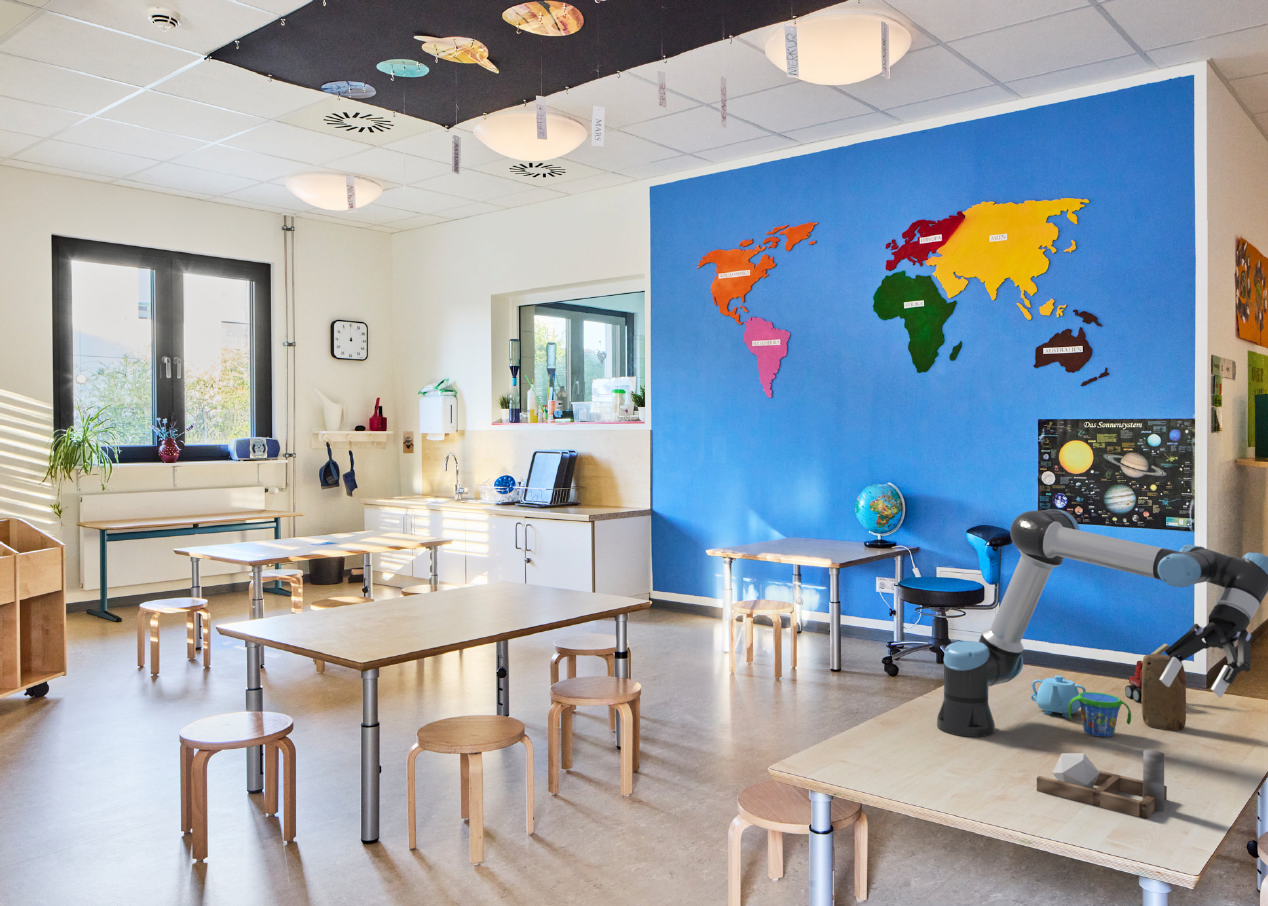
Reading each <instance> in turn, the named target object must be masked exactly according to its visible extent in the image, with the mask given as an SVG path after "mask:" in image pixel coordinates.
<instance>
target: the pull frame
mask: <svg viewBox="0 0 1268 906" xmlns="http://www.w3.org/2000/svg"><path fill="white" fill-rule="evenodd" d="M1142 753H1143V756H1142V757H1143V760H1142V767H1143V768H1142V769H1143V770H1142V780H1141V779H1137V778H1132V777H1129V776H1123V775H1119V774H1115V773H1112V772H1111V773H1110V772H1106V771H1103V770H1098V769H1097V770H1098V771H1099V772H1100V774H1099V776H1098V778H1097V780H1096V782H1095V784H1094V786H1095V785H1096V786H1098V787H1097V788H1093V789H1091V788H1087V787H1083V786H1079V785H1075V784H1071V783H1067V782H1062V781H1058V780H1057V779H1054V778H1050V777H1046V776H1041V775H1038V776H1037V777H1036V791H1037V792H1041V793H1046V794H1047V795H1048V794H1049V795H1052V796H1056V797H1061V798H1064V799H1069V800H1071V801H1076V802H1080V803H1084V804H1087V805H1091V806H1095V807H1099V808H1103V809H1107V810H1111V811H1115V812H1118V813H1122V814H1126V815H1131V816H1135V817H1137V818H1142V819H1145V820H1147V819H1149V818H1150V817H1151V816H1152V815H1153V814H1154V813H1155V812H1156V813H1160V812H1163V811H1165V810H1164V809H1165V802H1166V801H1167V798H1168V797H1167V794H1168V793H1167V792H1168V790H1167V789H1168V786H1167V785H1165V753H1164V752H1162V751H1158V750H1153V749H1146V750H1143V752H1142ZM1119 791H1120V792H1124V793H1128V794H1132V795H1137V796H1141V797H1142V800H1138V799H1136V798H1132V797H1131V798H1130V797H1127V796H1123V795H1118V794H1117V793H1118V792H1119Z"/></svg>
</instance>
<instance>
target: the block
mask: <svg viewBox="0 0 1268 906" xmlns="http://www.w3.org/2000/svg"><path fill="white" fill-rule="evenodd" d="M1169 659H1170V657H1169V656H1168V655H1167V654H1160V655H1159V654H1152V653H1150V654H1145V655H1144V656H1143V659H1142V661H1143V665H1142V697H1141V702H1140V703H1141V714H1142V721H1143V723H1144V724H1145V725H1146V726H1149V727H1151V728H1154V729H1161V730H1168V731H1182V730H1184V729H1185V727H1186V720H1187V679H1186V671H1185V667H1184V664H1183V661H1181V663H1182V664H1183V665H1182V666H1181V668H1180V670H1179V672H1178V673H1177V675H1176V677H1175V678H1174V680H1173V682H1172V684H1171V685H1170V687H1167V686H1166V685H1165V684H1164V683H1163V682H1162V681H1160V680H1159V679H1160V677H1161V676H1162V674H1163V672H1164V670H1165V666H1166V664H1167V662H1168V661H1169Z"/></svg>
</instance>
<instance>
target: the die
mask: <svg viewBox="0 0 1268 906" xmlns="http://www.w3.org/2000/svg"><path fill="white" fill-rule="evenodd" d="M1055 764H1056V765H1055V766H1054V769H1053V771H1052V775H1053V776H1054V777H1055V780H1058V781H1062V782H1067V783H1071V784H1075V785H1079V786H1083V787H1087V788H1091V789H1094V786H1095V782H1096V780H1097V778H1098V776H1099V774H1100V772H1099V771H1100V770H1099V771H1098V769H1097V767H1096V766H1095V765H1094V763H1093V762H1092V761H1091V760H1090V759H1089V757H1088V756H1087V755H1086V754H1085V753H1084V752H1083V753H1081V752H1079V753H1076V752H1075V753H1073V752H1072V753H1070V752H1069V753H1061V754H1060V755H1059V758H1058V760H1057V762H1056V763H1055Z"/></svg>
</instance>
